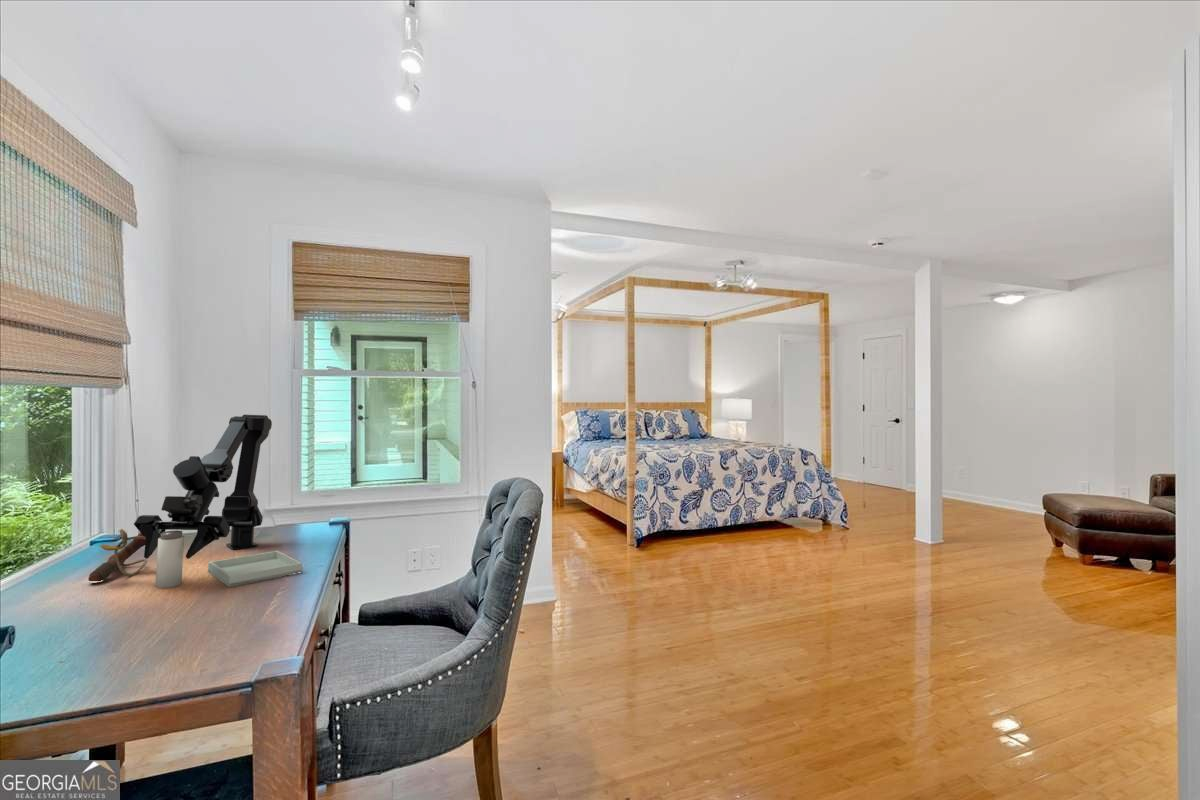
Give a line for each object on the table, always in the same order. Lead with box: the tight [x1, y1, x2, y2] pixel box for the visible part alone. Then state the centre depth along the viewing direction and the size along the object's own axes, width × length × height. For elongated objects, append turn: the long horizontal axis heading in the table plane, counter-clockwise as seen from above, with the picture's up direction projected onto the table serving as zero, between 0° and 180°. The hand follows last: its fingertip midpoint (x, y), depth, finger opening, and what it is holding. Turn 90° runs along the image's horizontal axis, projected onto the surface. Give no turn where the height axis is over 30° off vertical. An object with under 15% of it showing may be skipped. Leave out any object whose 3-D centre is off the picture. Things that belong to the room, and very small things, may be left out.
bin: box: [207, 550, 303, 588], centre depth 138 cm, size 16×16×2 cm
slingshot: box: [88, 528, 148, 582], centre depth 131 cm, size 17×10×15 cm
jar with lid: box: [155, 530, 185, 589], centre depth 126 cm, size 5×5×12 cm
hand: (166, 557), depth 125 cm, fingers open, 8 cm apart
